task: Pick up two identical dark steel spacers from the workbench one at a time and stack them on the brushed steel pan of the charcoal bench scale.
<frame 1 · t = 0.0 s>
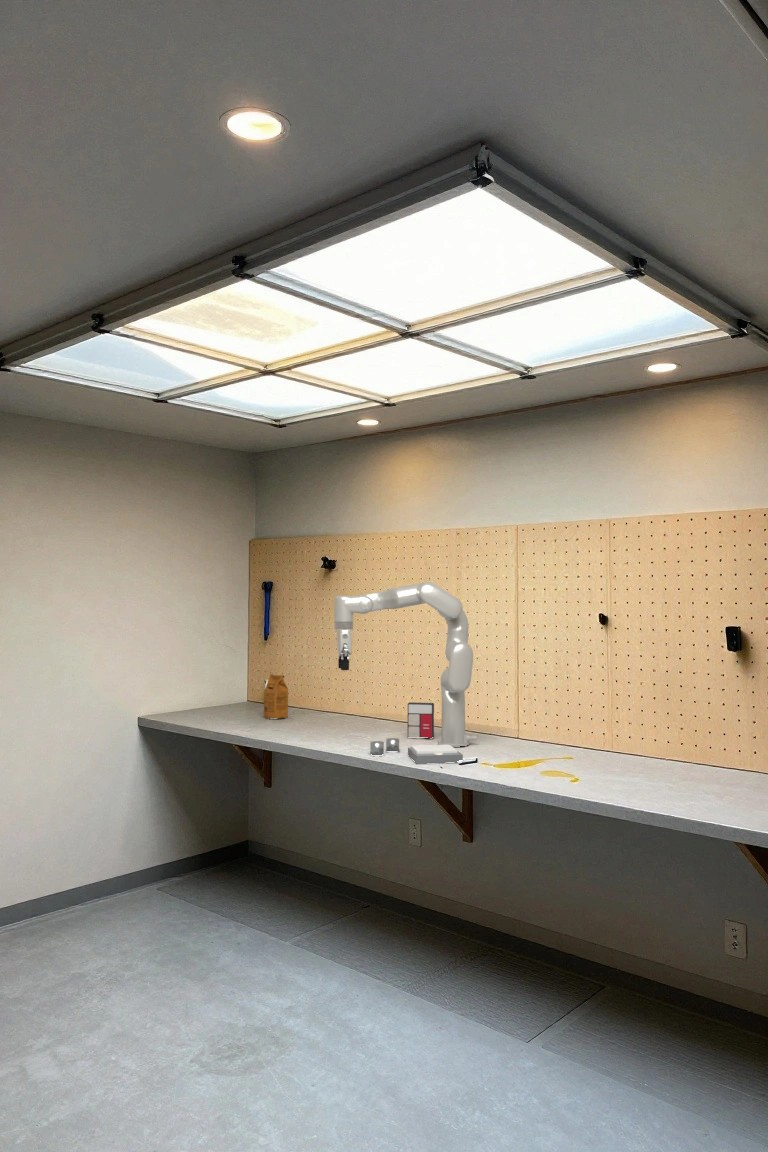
hand: (343, 669, 330), 31 cm above the table, tool pointing down, fingers open, 9 cm apart
coffee package: (275, 718, 413), on the table
spacer 2: (376, 755, 312), on the table
spacer 1: (392, 752, 319), on the table
bench scale: (434, 759, 305), on the table
grey and red box: (420, 739, 352), on the table
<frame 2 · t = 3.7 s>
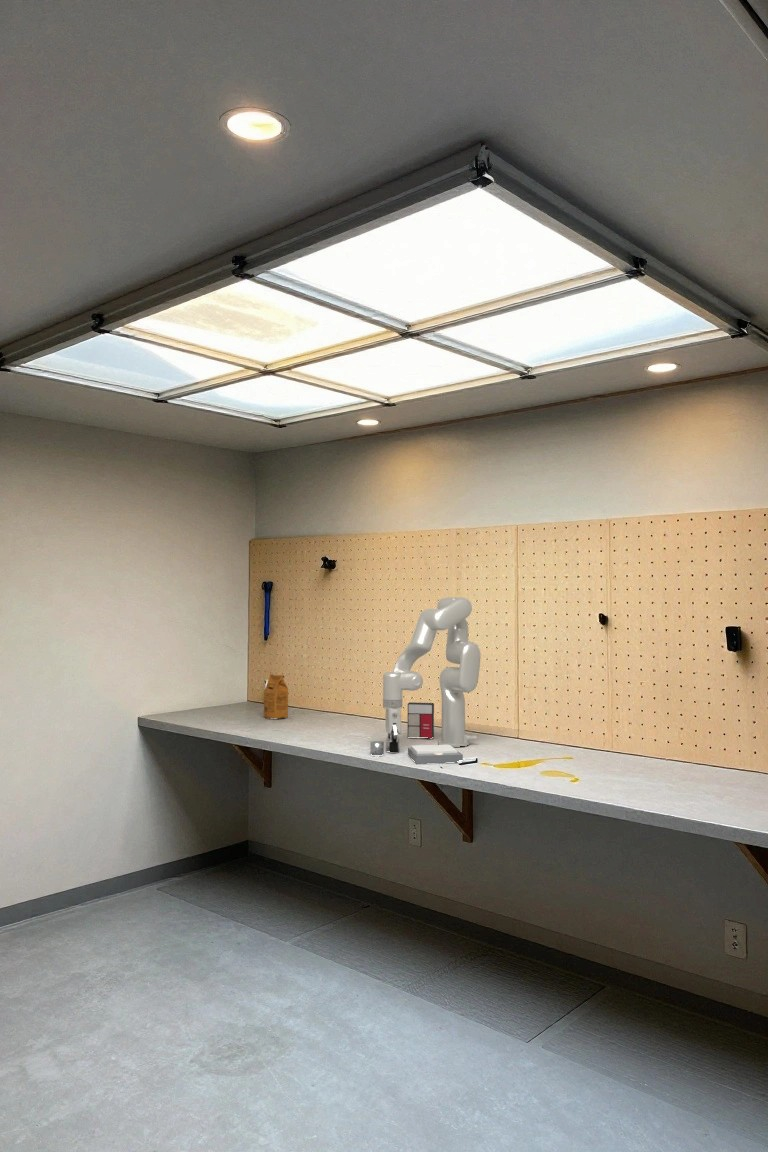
hand: (392, 750, 319), 0 cm above the table, tool pointing down, fingers closed on spacer 1, 5 cm apart
spacer 1: (392, 752, 319), on the table, touching gripper
everything else where it was.
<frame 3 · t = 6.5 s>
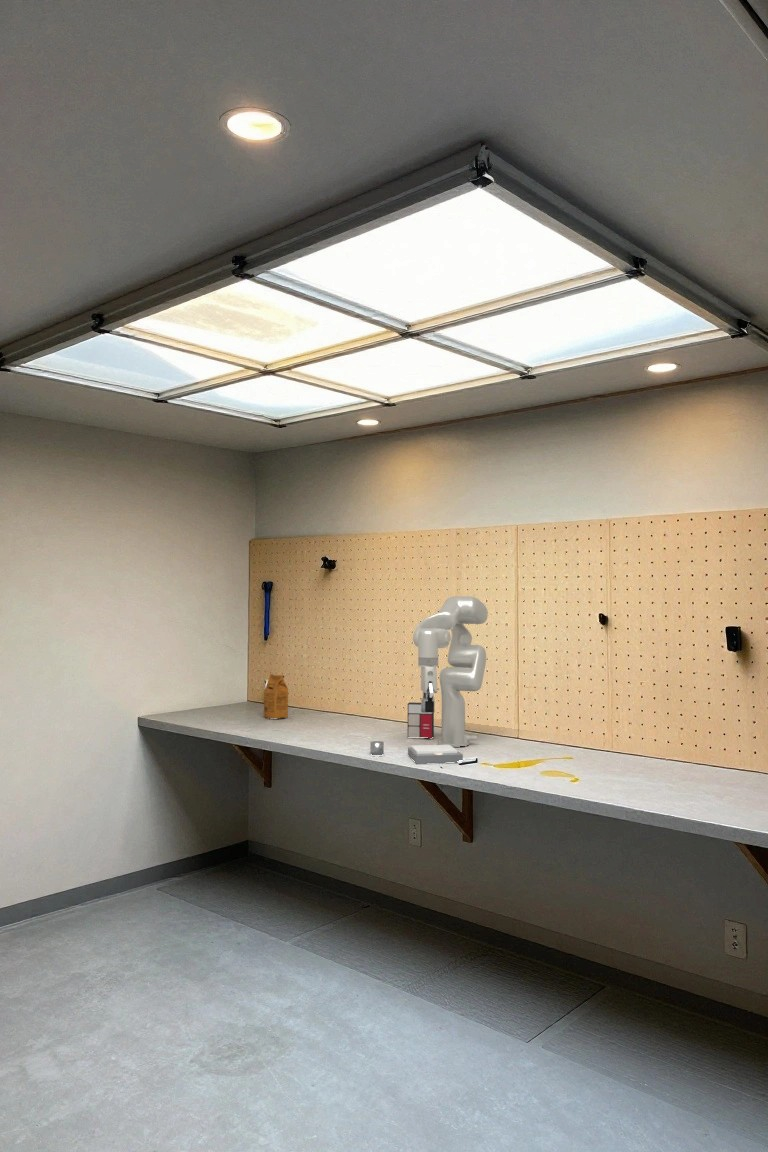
hand: (428, 710, 309), 17 cm above the table, tool pointing down, fingers closed on spacer 1, 5 cm apart
spacer 1: (427, 711, 309), point 17 cm above the table, touching gripper
everything else where it was.
when the fingers open (6 cm above the table, at t = 9.4 s): spacer 1 drops 1 cm, resting on bench scale.
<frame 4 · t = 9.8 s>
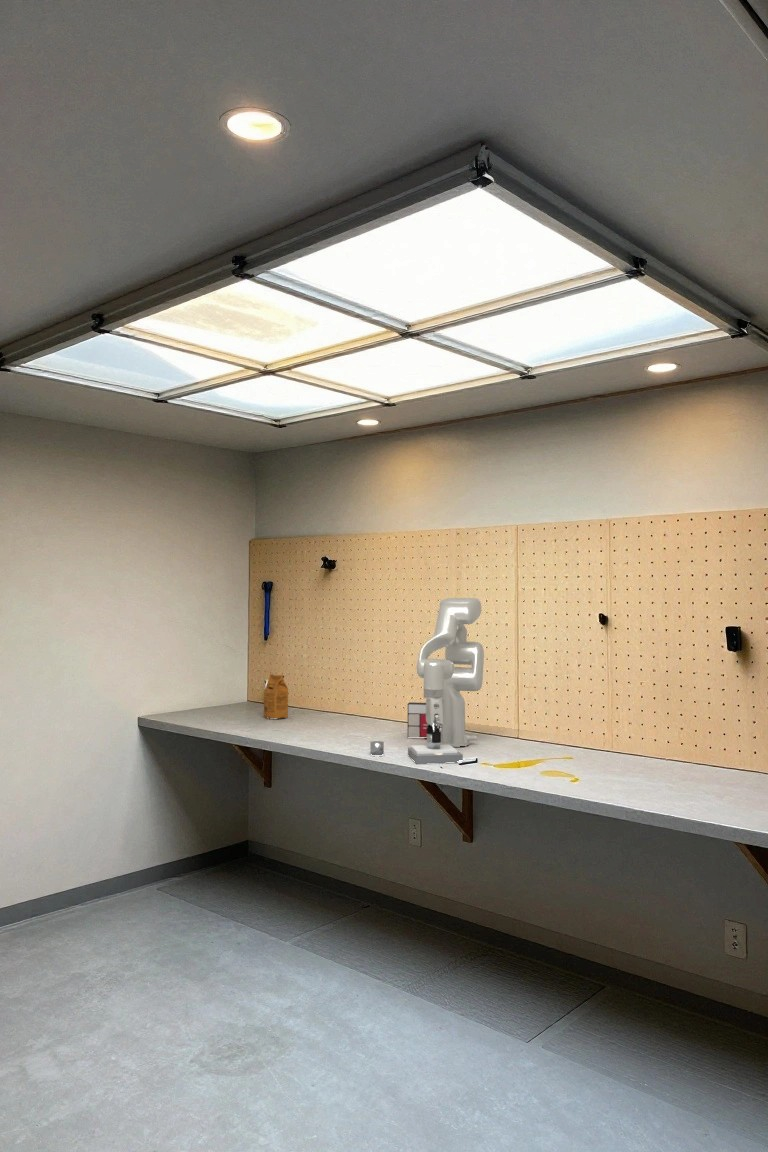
hand: (433, 740, 307), 7 cm above the table, tool pointing down, fingers open, 9 cm apart
spacer 1: (433, 747, 307), point 4 cm above the table, touching bench scale
everything else where it was.
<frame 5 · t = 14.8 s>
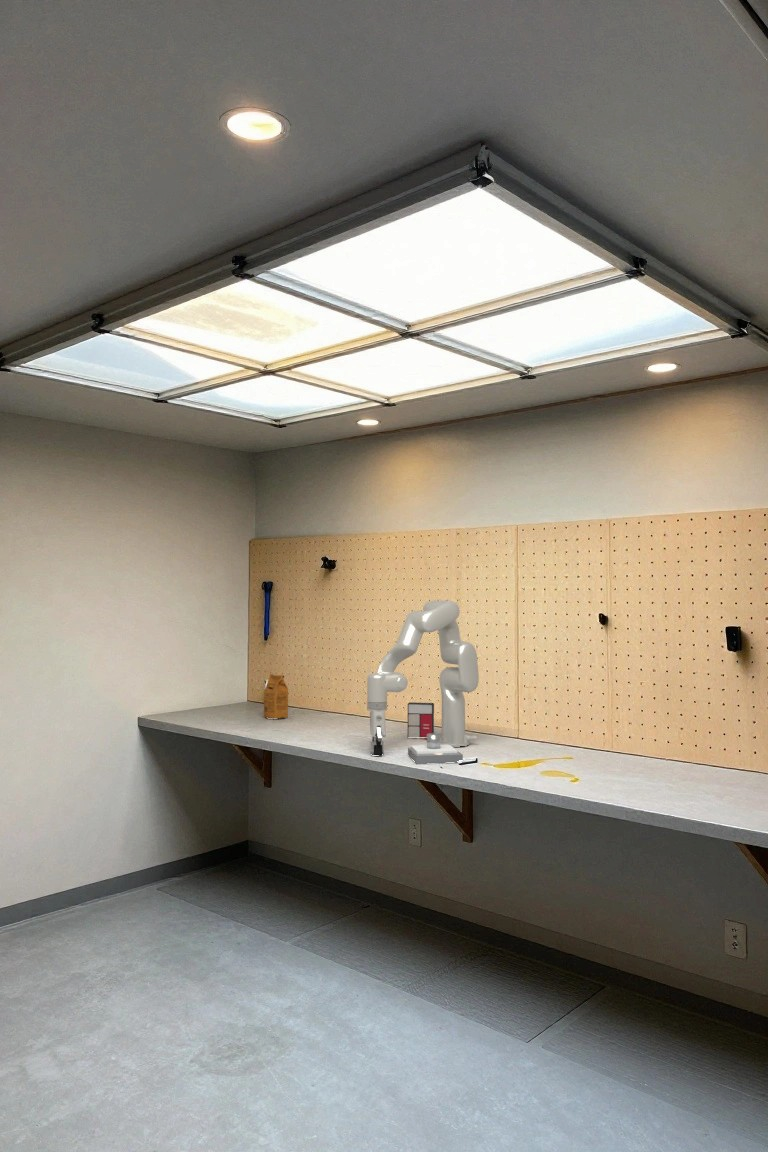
hand: (376, 753, 312), 0 cm above the table, tool pointing down, fingers closed on spacer 2, 5 cm apart
spacer 2: (376, 755, 312), on the table, touching gripper
everything else where it was.
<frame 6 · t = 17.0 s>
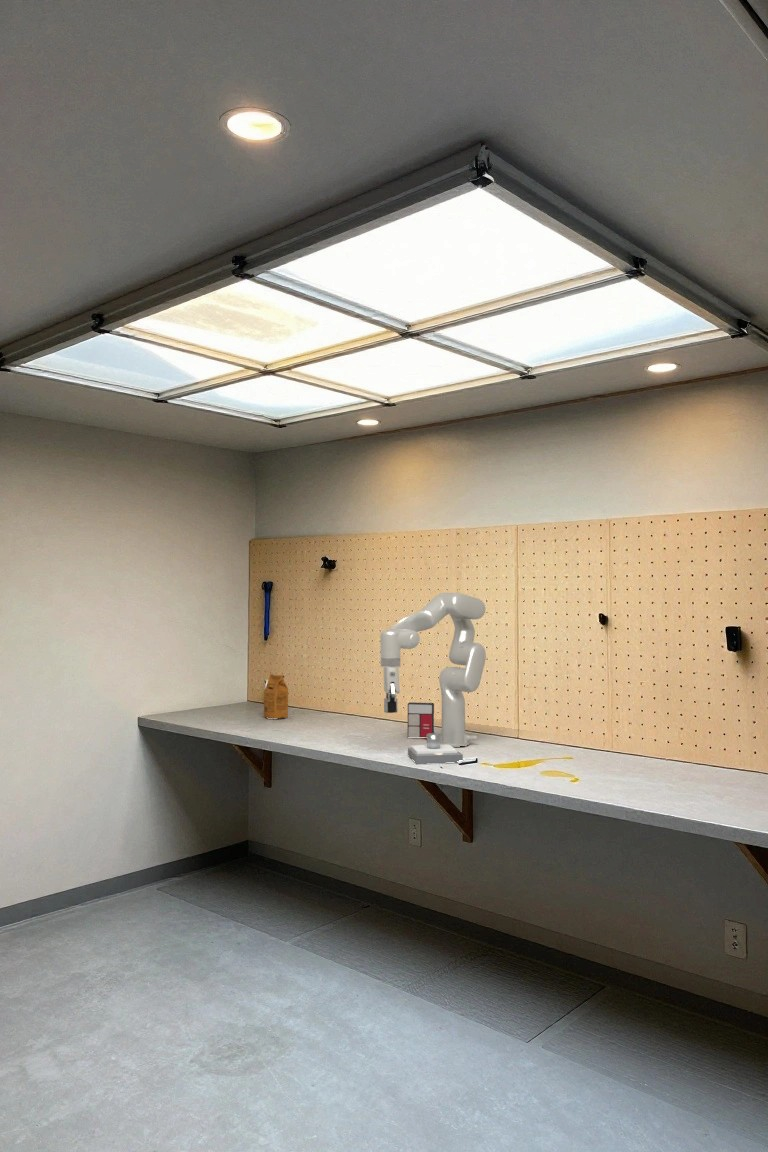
hand: (390, 710, 312), 17 cm above the table, tool pointing down, fingers closed on spacer 2, 5 cm apart
spacer 2: (390, 711, 312), point 16 cm above the table, touching gripper
everything else where it was.
when the fingers open (11 cm above the table, at t = 19.6 s): spacer 2 drops 1 cm, resting on spacer 1.
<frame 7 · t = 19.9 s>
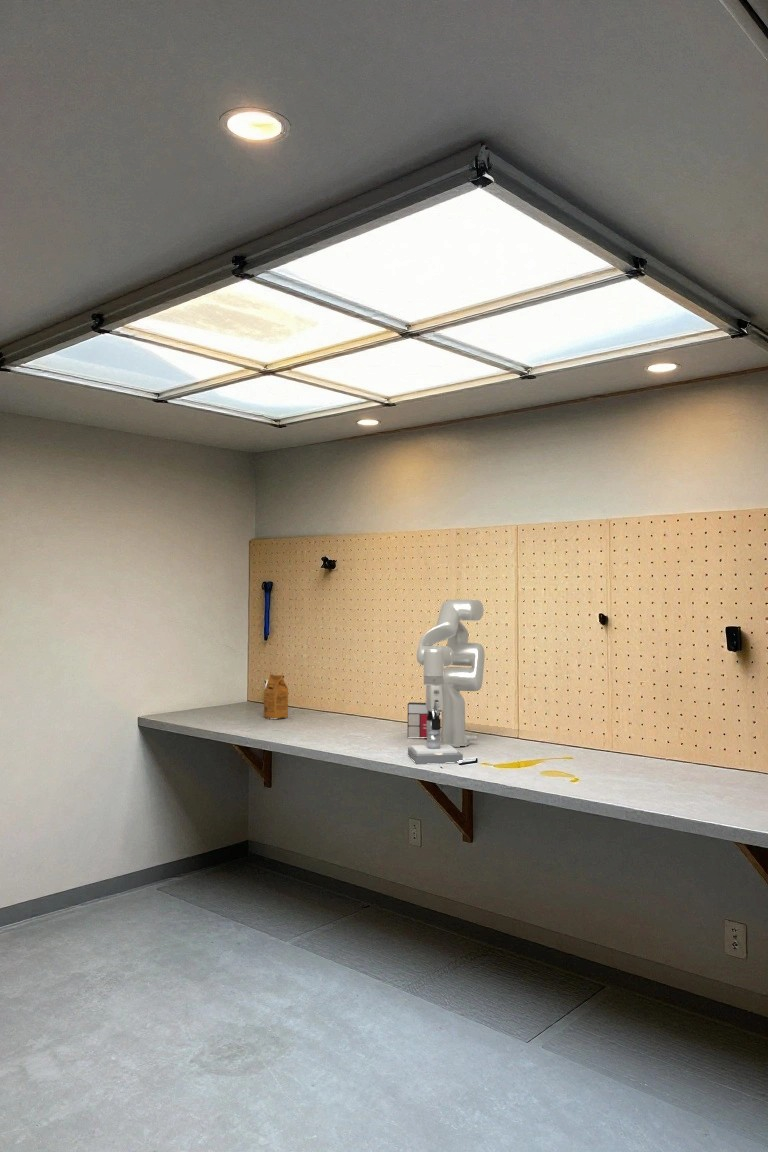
hand: (433, 727, 307), 11 cm above the table, tool pointing down, fingers open, 8 cm apart
spacer 2: (433, 734, 307), point 9 cm above the table, touching spacer 1
spacer 1: (433, 747, 307), point 4 cm above the table, touching bench scale, spacer 2
everything else where it was.
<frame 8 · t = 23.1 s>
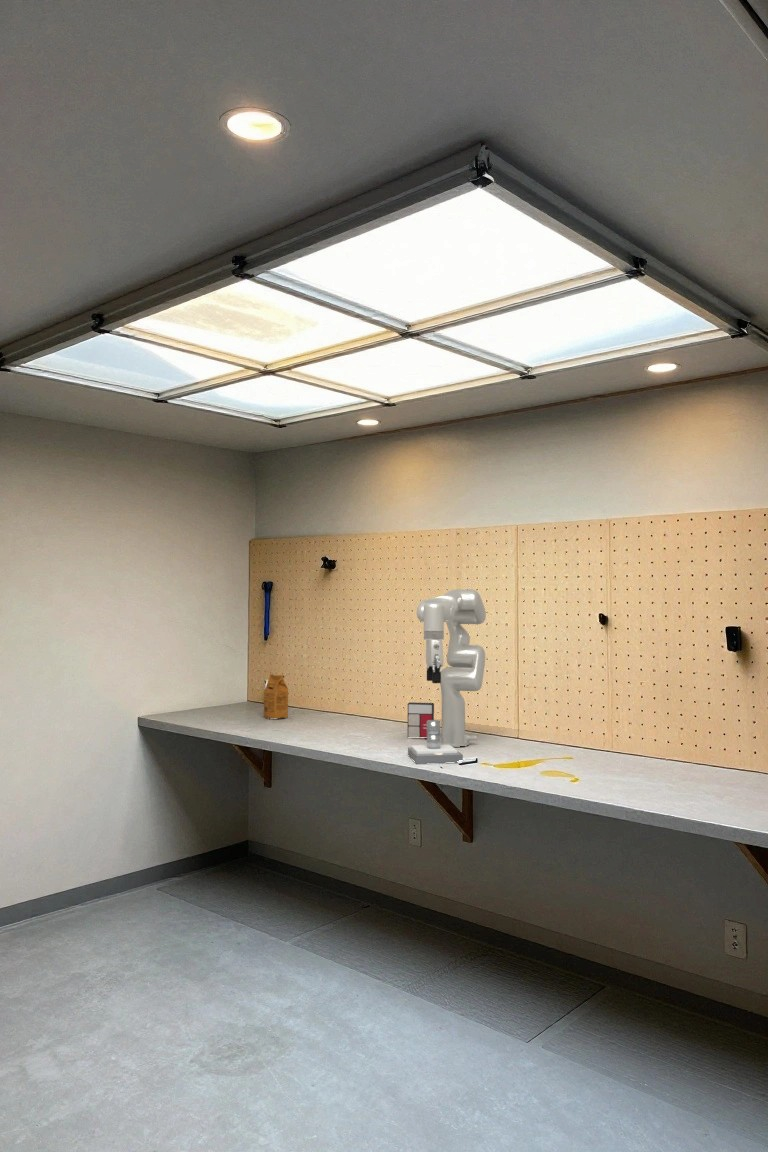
hand: (433, 681, 307), 28 cm above the table, tool pointing down, fingers open, 9 cm apart
nothing on the table moved.
at the end: spacer 1 inside the target area on the bench scale (0.2 cm from its centre), point 3.8 cm above the bench scale's base; spacer 2 inside the target area on the bench scale (0.2 cm from its centre), point 8.8 cm above the bench scale's base; spacer 2 tilted 0° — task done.
